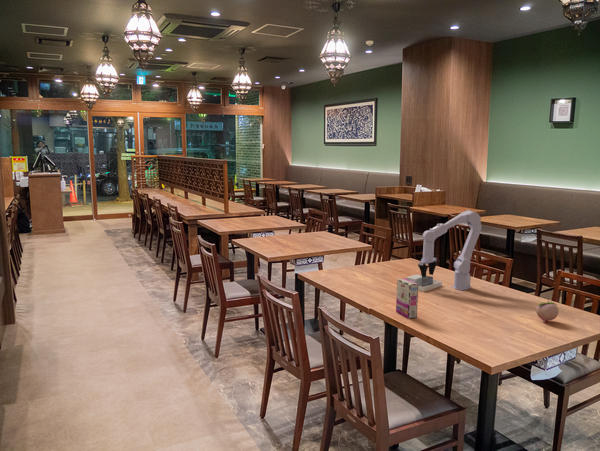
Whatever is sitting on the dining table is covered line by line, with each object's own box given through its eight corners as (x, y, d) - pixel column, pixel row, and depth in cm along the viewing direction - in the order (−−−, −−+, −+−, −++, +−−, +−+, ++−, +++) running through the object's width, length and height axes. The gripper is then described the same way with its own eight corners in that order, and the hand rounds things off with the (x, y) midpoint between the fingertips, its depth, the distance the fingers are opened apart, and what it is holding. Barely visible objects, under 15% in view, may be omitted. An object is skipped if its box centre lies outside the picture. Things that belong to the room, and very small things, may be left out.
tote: (417, 281, 286) (417, 276, 286) (441, 286, 275) (441, 281, 274) (399, 286, 274) (399, 281, 274) (424, 292, 262) (424, 287, 262)
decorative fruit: (545, 326, 213) (547, 304, 212) (531, 319, 221) (533, 298, 219) (562, 324, 216) (564, 302, 214) (548, 317, 224) (550, 297, 222)
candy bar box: (417, 318, 223) (419, 283, 221) (408, 319, 221) (409, 284, 219) (404, 310, 233) (405, 277, 231) (395, 311, 232) (396, 278, 229)
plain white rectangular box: (415, 281, 282) (416, 274, 282) (424, 284, 278) (425, 276, 277) (406, 285, 276) (406, 277, 275) (414, 287, 271) (415, 279, 270)
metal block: (425, 285, 274) (426, 275, 273) (432, 287, 271) (433, 277, 270) (421, 287, 271) (421, 276, 270) (428, 288, 268) (428, 278, 267)
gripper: (429, 249, 276) (428, 272, 278) (414, 252, 266) (414, 276, 268) (440, 251, 271) (439, 274, 273) (425, 254, 261) (425, 279, 263)
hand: (427, 275), depth 270 cm, fingers open, 7 cm apart
